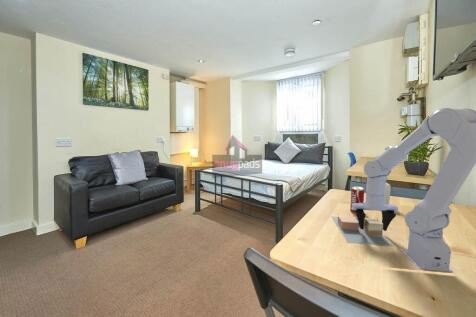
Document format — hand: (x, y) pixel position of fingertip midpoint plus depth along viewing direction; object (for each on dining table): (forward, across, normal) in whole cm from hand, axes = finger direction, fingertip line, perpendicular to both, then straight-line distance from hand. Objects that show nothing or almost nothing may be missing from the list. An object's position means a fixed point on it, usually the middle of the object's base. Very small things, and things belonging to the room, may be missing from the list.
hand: (372, 228), depth 77 cm
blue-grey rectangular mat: (+2, +4, -3) cm, 5 cm away
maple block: (+2, 0, 0) cm, 2 cm away
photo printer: (+3, -17, -36) cm, 40 cm away
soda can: (+2, -2, -22) cm, 22 cm away
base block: (+2, +7, -5) cm, 9 cm away
